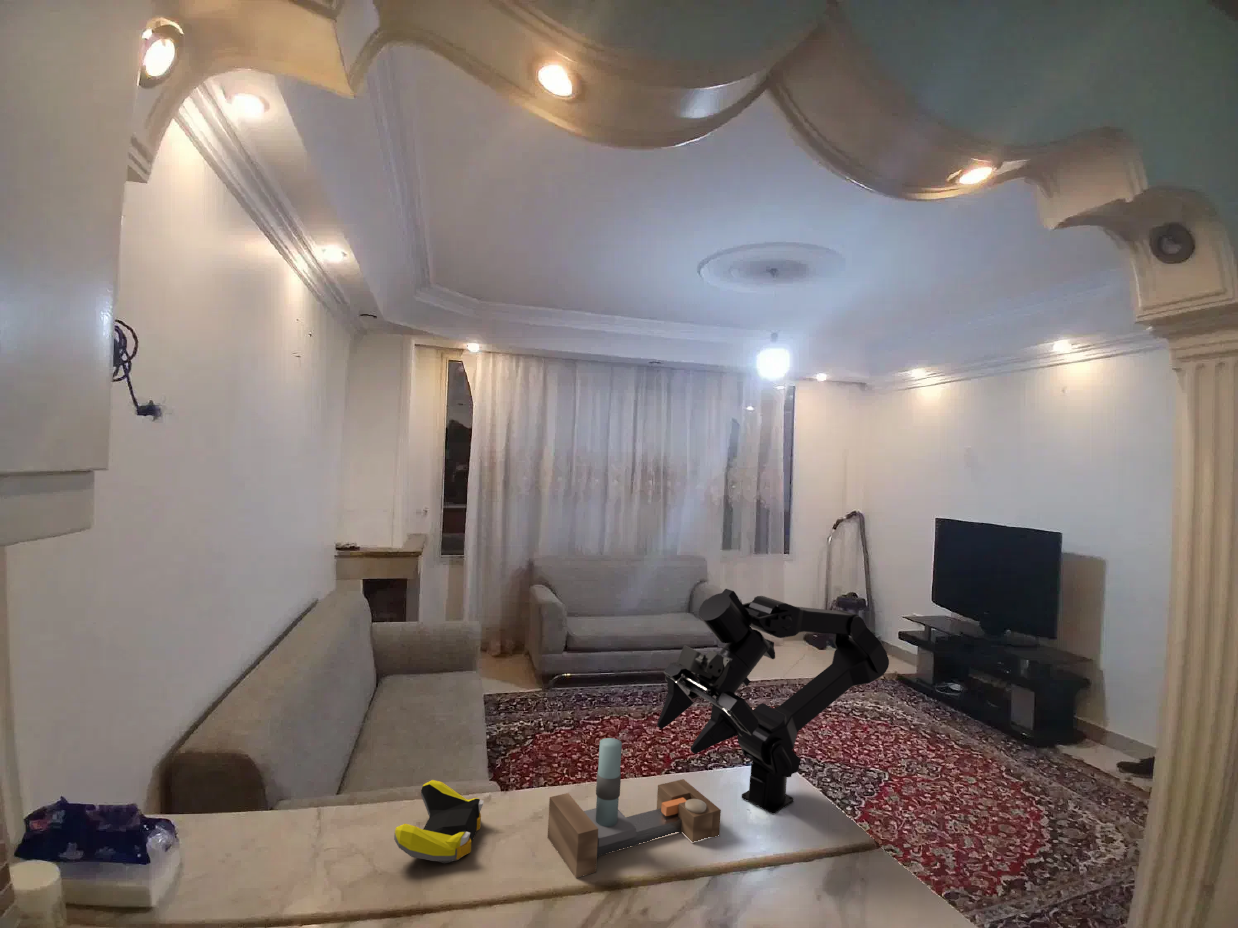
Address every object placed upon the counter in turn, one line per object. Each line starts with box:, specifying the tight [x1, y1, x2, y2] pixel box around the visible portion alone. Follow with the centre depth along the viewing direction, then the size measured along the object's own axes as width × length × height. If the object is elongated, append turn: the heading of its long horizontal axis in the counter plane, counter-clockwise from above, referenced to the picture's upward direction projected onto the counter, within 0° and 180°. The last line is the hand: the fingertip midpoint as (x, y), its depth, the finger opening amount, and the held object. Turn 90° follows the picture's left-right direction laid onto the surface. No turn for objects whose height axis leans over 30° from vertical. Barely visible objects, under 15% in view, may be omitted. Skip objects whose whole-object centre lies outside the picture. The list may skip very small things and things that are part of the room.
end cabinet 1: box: [547, 792, 598, 879], centre depth 91 cm, size 3×10×6 cm, turn 29°
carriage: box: [583, 737, 636, 847], centre depth 94 cm, size 6×7×13 cm
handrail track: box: [597, 808, 682, 857], centre depth 96 cm, size 22×4×2 cm, turn 119°
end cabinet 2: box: [656, 778, 722, 842], centre depth 101 cm, size 5×10×4 cm, turn 29°
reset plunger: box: [661, 798, 687, 816], centre depth 100 cm, size 4×1×1 cm, turn 119°
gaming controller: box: [393, 779, 485, 864], centre depth 93 cm, size 15×6×10 cm
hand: (674, 739), depth 99 cm, fingers open, 9 cm apart
